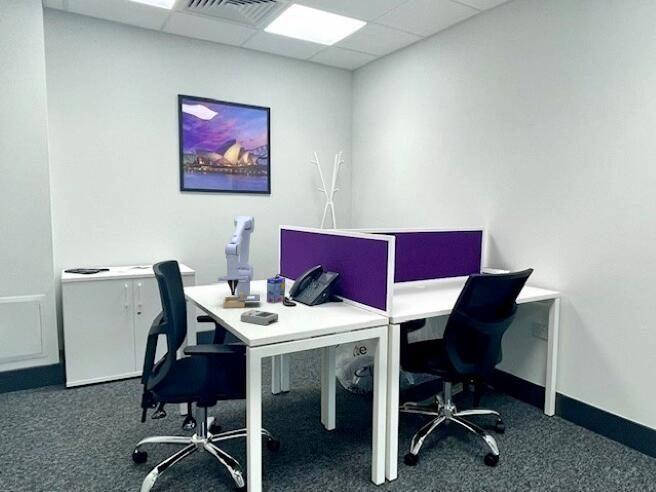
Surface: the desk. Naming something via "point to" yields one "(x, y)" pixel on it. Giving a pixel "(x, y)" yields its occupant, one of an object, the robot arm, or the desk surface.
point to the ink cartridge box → (275, 289)
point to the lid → (249, 297)
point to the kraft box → (233, 303)
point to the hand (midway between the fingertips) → (233, 295)
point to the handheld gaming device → (258, 317)
